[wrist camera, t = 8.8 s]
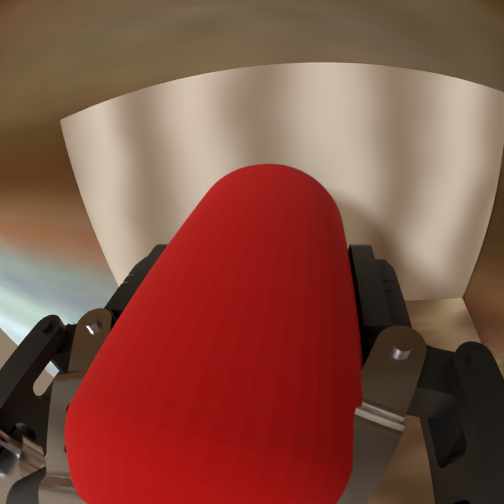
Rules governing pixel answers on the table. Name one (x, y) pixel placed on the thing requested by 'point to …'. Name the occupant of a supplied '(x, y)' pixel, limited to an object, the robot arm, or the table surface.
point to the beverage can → (230, 359)
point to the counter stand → (320, 168)
